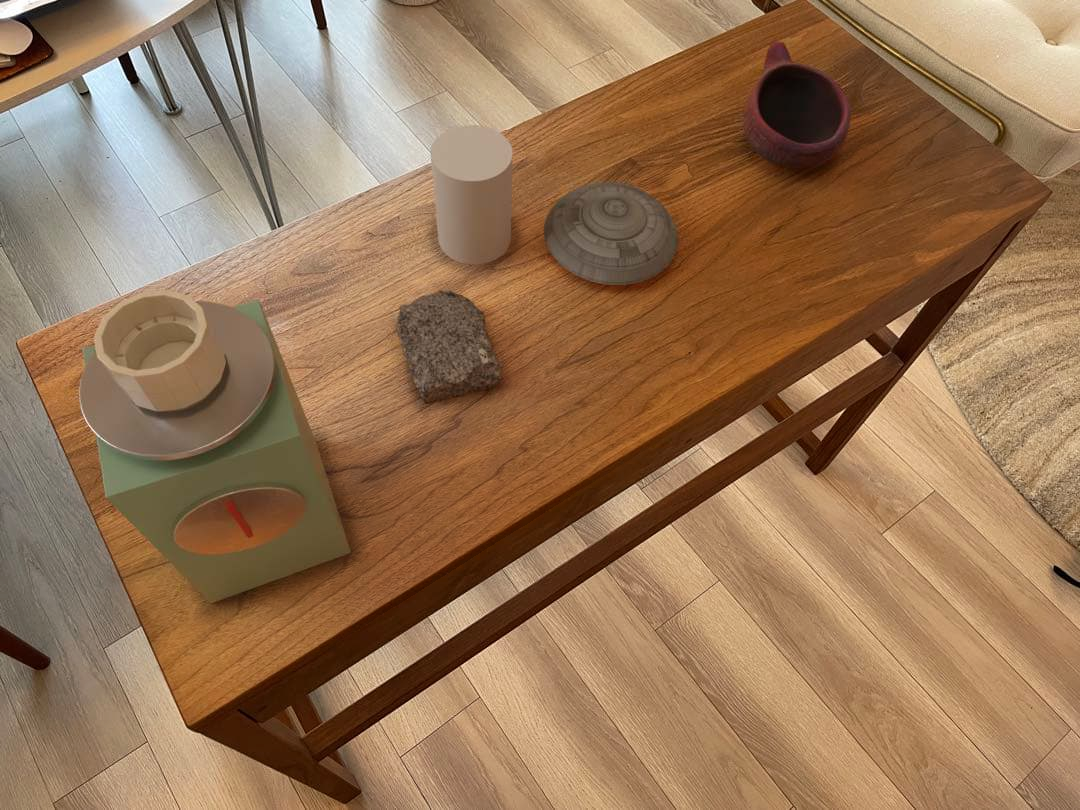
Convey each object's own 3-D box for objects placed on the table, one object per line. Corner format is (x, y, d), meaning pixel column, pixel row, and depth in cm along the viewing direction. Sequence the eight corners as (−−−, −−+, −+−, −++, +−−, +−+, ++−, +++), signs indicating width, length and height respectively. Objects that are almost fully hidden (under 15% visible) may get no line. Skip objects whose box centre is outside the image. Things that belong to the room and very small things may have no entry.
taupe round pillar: (522, 225, 91) (526, 140, 80) (490, 274, 87) (489, 191, 76) (459, 201, 92) (454, 115, 82) (424, 248, 88) (415, 164, 78)
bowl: (857, 157, 99) (884, 103, 92) (787, 200, 95) (809, 146, 88) (764, 89, 105) (783, 33, 99) (694, 125, 101) (708, 70, 94)
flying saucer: (673, 301, 86) (683, 267, 81) (535, 284, 86) (537, 249, 81) (677, 202, 94) (687, 166, 89) (551, 187, 94) (554, 150, 89)
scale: (212, 612, 66) (92, 494, 47) (184, 483, 72) (68, 330, 52) (353, 560, 69) (296, 429, 49) (315, 440, 75) (251, 281, 55)
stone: (503, 389, 79) (503, 368, 76) (415, 409, 78) (411, 389, 74) (474, 298, 84) (473, 275, 81) (392, 315, 83) (388, 293, 80)
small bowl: (133, 429, 49) (102, 389, 45) (118, 349, 52) (87, 306, 48) (236, 397, 50) (215, 357, 47) (216, 322, 53) (194, 277, 50)
